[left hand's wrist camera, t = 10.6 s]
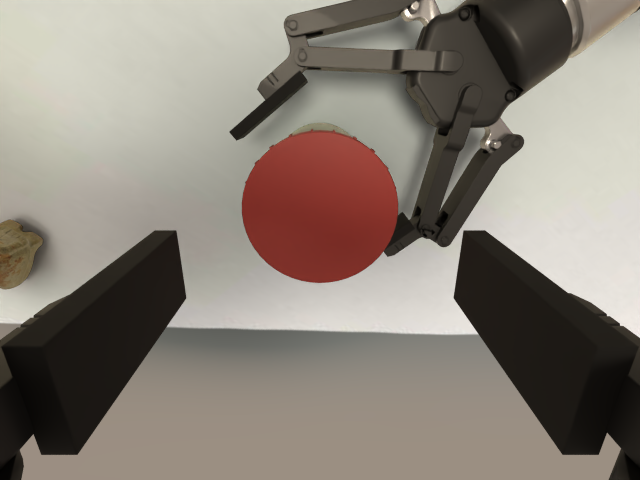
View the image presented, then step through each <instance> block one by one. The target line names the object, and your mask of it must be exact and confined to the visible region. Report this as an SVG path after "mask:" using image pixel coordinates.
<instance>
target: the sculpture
mask: <svg viewBox="0 0 640 480" xmlns="http://www.w3.org/2000/svg"><path fill="white" fill-rule="evenodd" d="M22 230H23V227H22V225H20V224H19V223H17V222H15V221H13V220H7V221H5V222H2V223H0V288H1V289H11V288H14V287H16V286H18V285H20V284H21V283H22V282H23V281H24V280H25V279H26V278H27V277H28V275H29V273H30V271H31V268H32V265H33V261H34V255H35V252H36V251H37V249H38V248H39V247H40V246H41V245H42V243H43V239H42V238H41V237H39V236H38V235H37V234H35V233H33V232H22Z"/></svg>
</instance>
